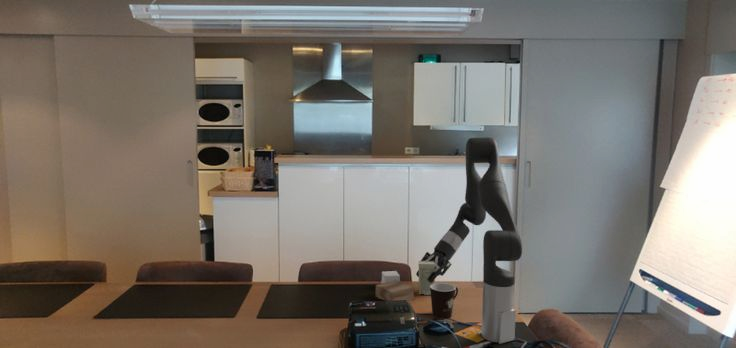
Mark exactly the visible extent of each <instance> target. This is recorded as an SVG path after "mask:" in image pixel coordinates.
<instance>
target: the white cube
mask: <svg viewBox="0 0 736 348" xmlns="http://www.w3.org/2000/svg"><path fill="white" fill-rule="evenodd" d="M395 280H397V281H399V282H401V275H400V274H399V273H398V271H397V270H392V271H387V270H386V271H381V284H382V283H386V282H391V281H395Z"/></svg>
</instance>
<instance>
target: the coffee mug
mask: <svg viewBox="0 0 736 348" xmlns="http://www.w3.org/2000/svg"><path fill="white" fill-rule="evenodd" d="M430 291H431V295H430V299H431V300H430V301H431V311H432V317H433V318H435V317H437V318H436V319H438V318H449V319H452V315H453V310H454V309H453V308H454V302H455V299H456V298H457V296H458V293H459V288H458V287H457V286H456V285H453V284H452V283H451V284H450V283H446V282H445V283H444V282H436V283H435V284H432V285H430Z"/></svg>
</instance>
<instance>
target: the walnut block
mask: <svg viewBox="0 0 736 348" xmlns="http://www.w3.org/2000/svg"><path fill="white" fill-rule="evenodd" d="M376 297H377V298H376ZM375 298H376V299H378V298H379V300H380V299H382V300H407V301H406V302H410V301H413V300H414V286H411V285H409V284H406V283H404V282H401V281H400V282H399V281H397V280H395V281H391V282H386V283H382V282H381V283H379V284H375ZM382 300H381V301H382ZM409 300H410V301H409Z"/></svg>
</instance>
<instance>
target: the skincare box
mask: <svg viewBox="0 0 736 348" xmlns="http://www.w3.org/2000/svg"><path fill="white" fill-rule="evenodd" d="M434 269H435V262H434V261H421V260H418V270H419V277H418V295H419V294H424V296H425V295H427V296H431V291H430V285H432V284H435V282H436V279H435V280H434V281H433V282H432V283H430V282H429V281H428V280H427V279H428V277H429V276H430V275H431V273H432V272H434Z"/></svg>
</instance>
